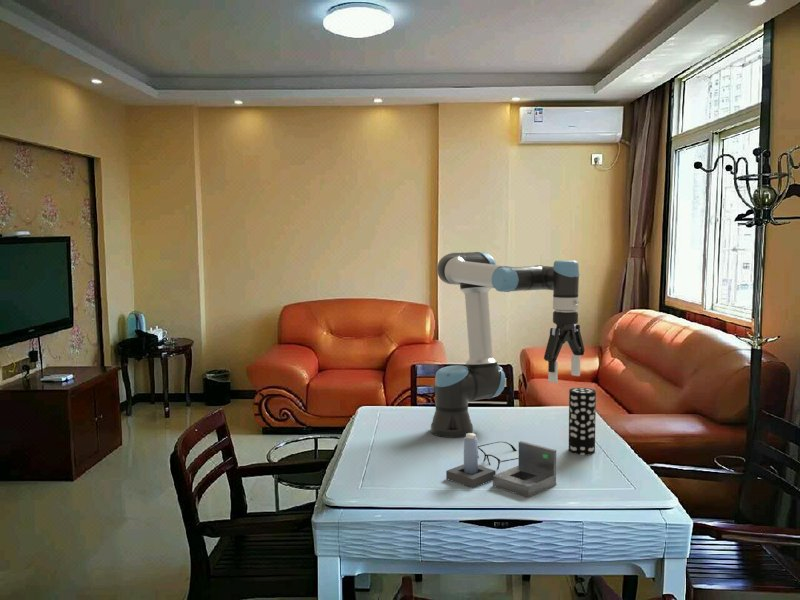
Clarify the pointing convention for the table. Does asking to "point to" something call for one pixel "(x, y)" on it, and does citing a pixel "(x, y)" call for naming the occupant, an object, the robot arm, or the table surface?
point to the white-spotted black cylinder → (582, 421)
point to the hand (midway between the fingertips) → (564, 379)
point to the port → (529, 471)
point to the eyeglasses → (494, 456)
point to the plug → (470, 454)
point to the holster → (470, 476)
